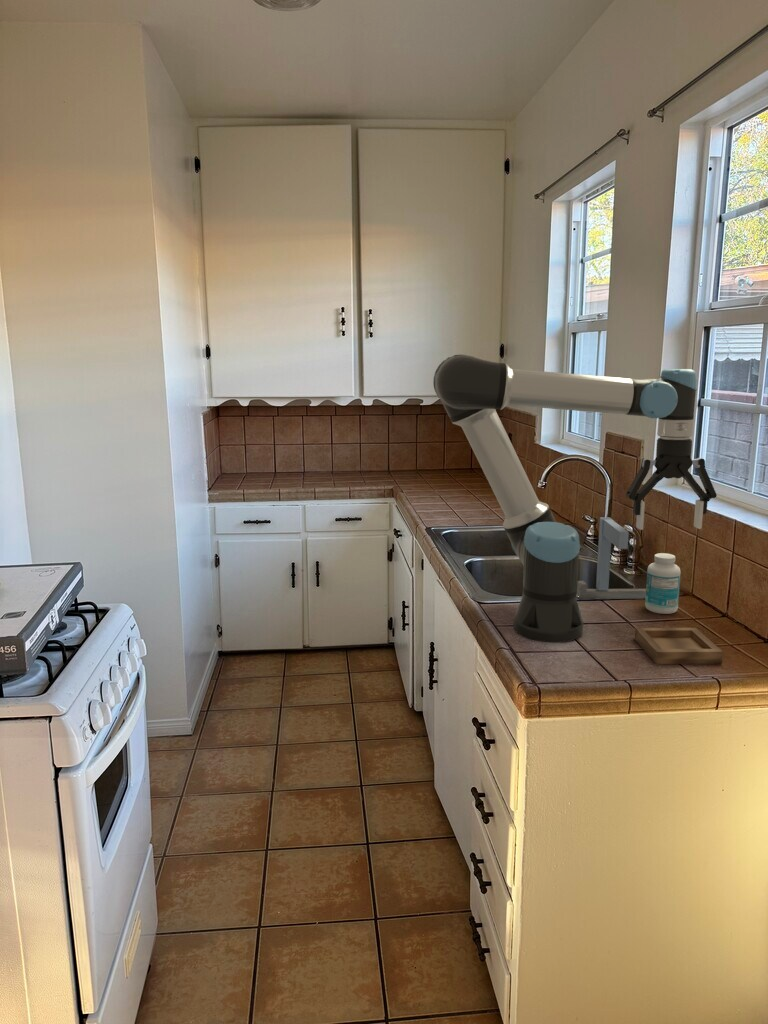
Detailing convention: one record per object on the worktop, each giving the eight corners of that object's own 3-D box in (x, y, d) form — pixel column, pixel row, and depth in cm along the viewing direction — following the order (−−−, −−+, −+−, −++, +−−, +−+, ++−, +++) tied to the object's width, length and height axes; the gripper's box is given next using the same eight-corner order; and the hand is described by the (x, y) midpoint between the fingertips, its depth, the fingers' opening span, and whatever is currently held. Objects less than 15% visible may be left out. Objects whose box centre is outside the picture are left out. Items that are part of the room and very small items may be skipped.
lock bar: (614, 607, 171) (619, 531, 167) (596, 587, 185) (600, 517, 182) (624, 607, 171) (629, 531, 167) (605, 587, 185) (609, 517, 182)
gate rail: (579, 599, 183) (580, 584, 183) (576, 595, 186) (577, 580, 185) (672, 599, 183) (673, 584, 182) (667, 595, 186) (669, 580, 185)
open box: (656, 663, 145) (657, 651, 145) (634, 638, 158) (635, 628, 157) (721, 663, 145) (722, 651, 145) (694, 638, 158) (695, 627, 157)
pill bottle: (651, 602, 181) (655, 549, 178) (681, 608, 176) (686, 554, 174) (640, 610, 175) (643, 556, 173) (671, 617, 171) (675, 561, 168)
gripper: (625, 440, 164) (620, 532, 168) (737, 438, 163) (729, 530, 168) (615, 436, 171) (610, 525, 175) (721, 435, 171) (714, 523, 175)
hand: (668, 528), depth 172 cm, fingers open, 13 cm apart
